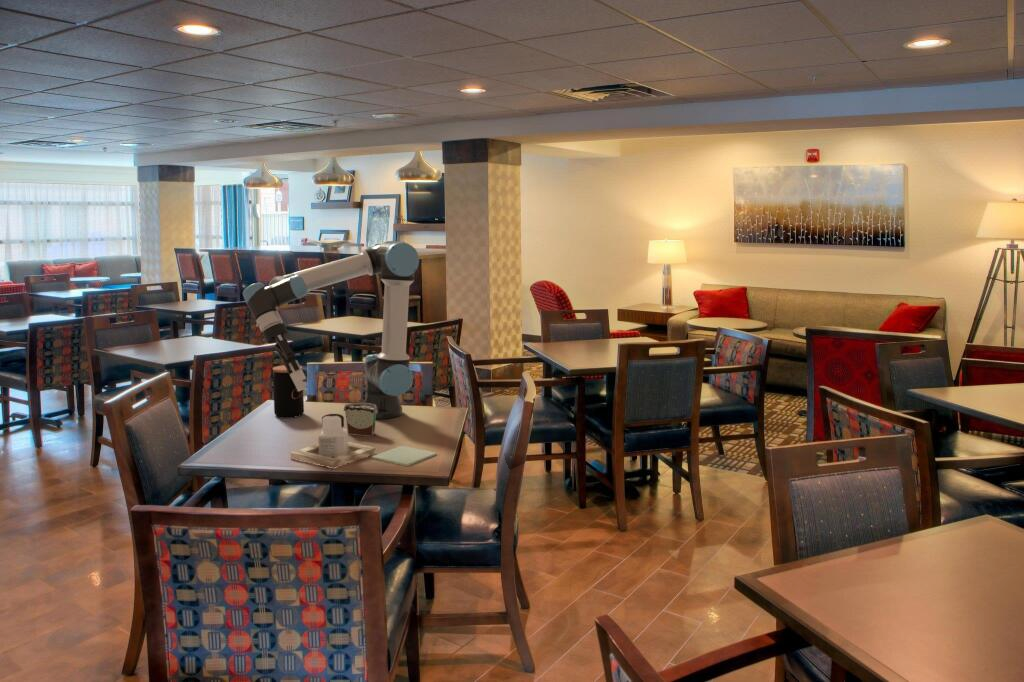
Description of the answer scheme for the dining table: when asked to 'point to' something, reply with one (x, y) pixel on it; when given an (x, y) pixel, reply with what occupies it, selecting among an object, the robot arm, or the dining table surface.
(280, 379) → the coffee jar
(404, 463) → the pad
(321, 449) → the container
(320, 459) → the square picture frame
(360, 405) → the food container
